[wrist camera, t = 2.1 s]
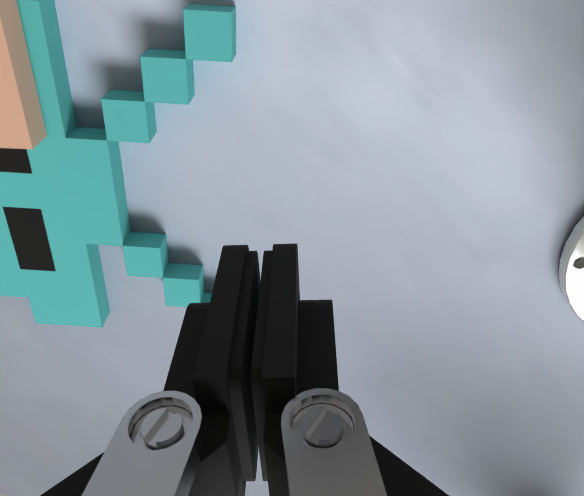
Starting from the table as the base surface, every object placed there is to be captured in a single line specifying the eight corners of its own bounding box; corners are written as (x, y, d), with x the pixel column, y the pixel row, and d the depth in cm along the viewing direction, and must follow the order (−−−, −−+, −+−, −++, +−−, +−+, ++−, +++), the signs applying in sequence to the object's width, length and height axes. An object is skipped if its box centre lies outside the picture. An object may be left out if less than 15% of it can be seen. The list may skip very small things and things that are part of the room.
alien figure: (236, 4, 26) (-167, -20, 26) (231, 12, 24) (-203, -14, 24) (238, 313, 37) (-46, 296, 37) (234, 335, 35) (-64, 317, 35)
